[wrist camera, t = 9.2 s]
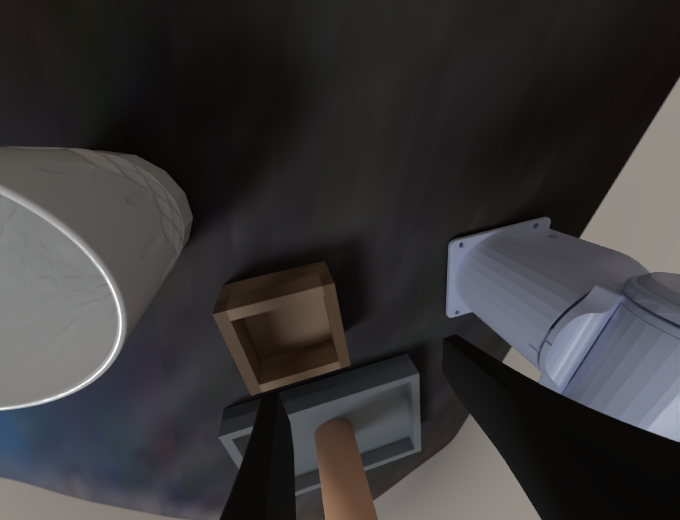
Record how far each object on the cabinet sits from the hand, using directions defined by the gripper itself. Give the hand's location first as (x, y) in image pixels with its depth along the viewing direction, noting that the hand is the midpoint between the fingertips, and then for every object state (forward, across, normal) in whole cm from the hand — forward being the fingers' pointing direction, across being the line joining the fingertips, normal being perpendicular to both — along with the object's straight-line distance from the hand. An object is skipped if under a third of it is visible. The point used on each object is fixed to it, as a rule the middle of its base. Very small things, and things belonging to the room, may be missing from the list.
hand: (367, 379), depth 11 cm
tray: (+10, +2, +18) cm, 21 cm away
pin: (+9, +2, +18) cm, 20 cm away
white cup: (+11, +10, -7) cm, 17 cm away
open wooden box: (+10, +4, +3) cm, 11 cm away
